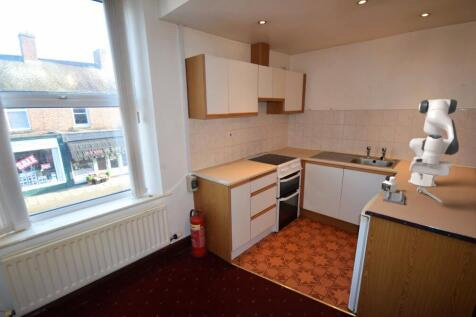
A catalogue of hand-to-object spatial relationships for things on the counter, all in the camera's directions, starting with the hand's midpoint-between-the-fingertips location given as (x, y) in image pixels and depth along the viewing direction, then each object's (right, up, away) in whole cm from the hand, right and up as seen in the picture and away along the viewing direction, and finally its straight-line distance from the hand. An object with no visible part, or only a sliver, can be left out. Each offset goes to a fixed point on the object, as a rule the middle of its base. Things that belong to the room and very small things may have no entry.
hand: (426, 180), depth 150 cm
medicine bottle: (-7, -11, +27) cm, 30 cm away
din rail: (-13, -13, +13) cm, 22 cm away
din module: (0, -3, +1) cm, 3 cm away
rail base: (-13, -15, +13) cm, 23 cm away
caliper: (+15, -14, +15) cm, 25 cm away
